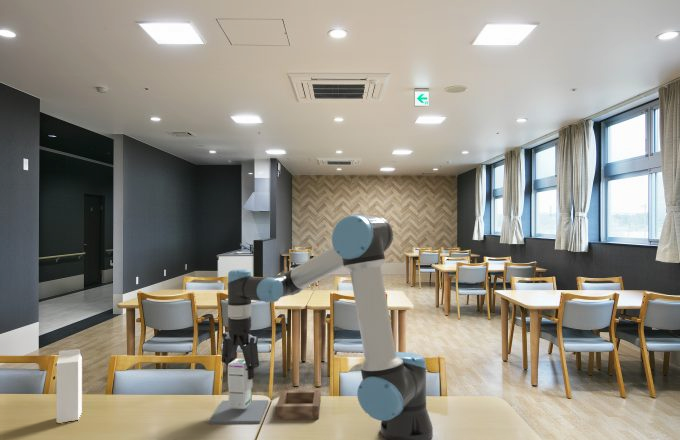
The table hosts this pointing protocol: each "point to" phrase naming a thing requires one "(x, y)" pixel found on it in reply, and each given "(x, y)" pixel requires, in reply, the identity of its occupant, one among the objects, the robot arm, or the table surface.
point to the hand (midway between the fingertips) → (240, 386)
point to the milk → (69, 385)
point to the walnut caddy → (298, 404)
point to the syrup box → (238, 385)
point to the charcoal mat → (239, 413)
